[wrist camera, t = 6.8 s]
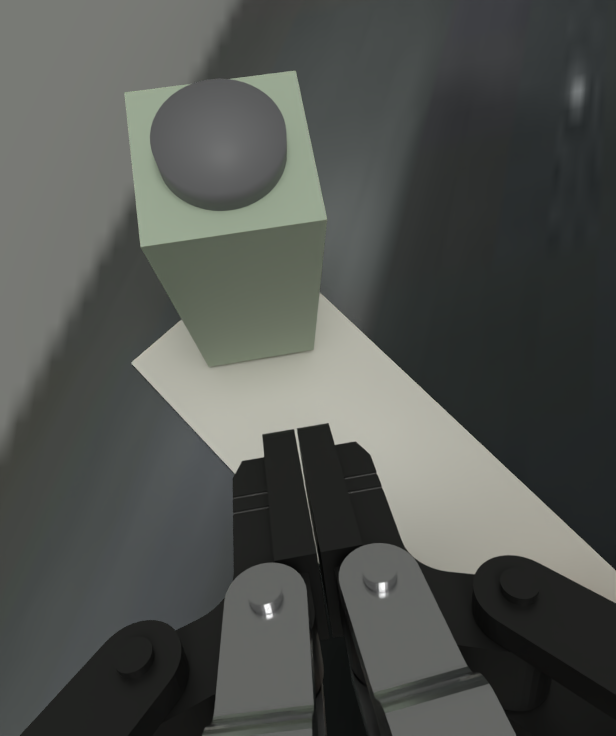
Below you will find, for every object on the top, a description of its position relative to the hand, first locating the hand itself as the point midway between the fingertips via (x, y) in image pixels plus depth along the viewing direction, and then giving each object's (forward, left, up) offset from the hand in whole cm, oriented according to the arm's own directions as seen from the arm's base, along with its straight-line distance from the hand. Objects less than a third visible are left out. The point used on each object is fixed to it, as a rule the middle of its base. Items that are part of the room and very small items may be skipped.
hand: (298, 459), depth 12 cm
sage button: (+1, -9, -13) cm, 16 cm away
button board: (-5, +2, -13) cm, 14 cm away
